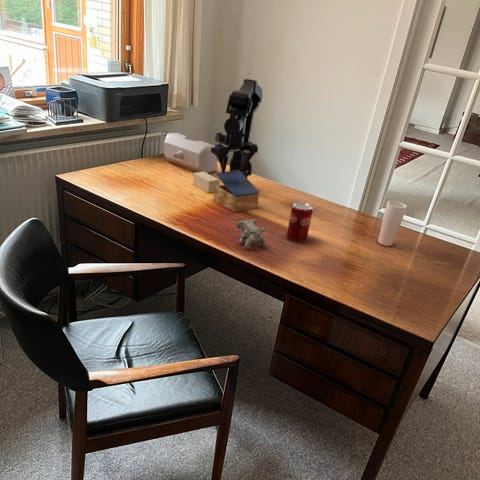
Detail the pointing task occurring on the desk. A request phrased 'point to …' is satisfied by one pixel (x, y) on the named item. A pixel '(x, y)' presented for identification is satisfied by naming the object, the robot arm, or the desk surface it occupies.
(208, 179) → the case
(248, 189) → the blue lid
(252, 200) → the storage box
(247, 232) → the gray elephant figurine
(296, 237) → the soda can
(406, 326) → the desk surface
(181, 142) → the tank
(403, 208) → the drinking glass
